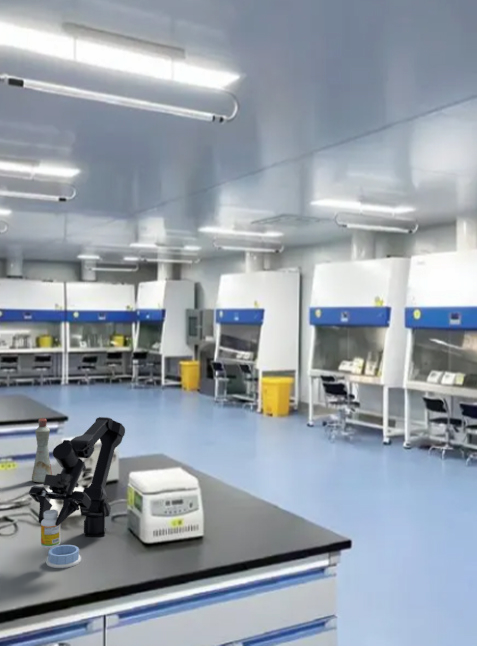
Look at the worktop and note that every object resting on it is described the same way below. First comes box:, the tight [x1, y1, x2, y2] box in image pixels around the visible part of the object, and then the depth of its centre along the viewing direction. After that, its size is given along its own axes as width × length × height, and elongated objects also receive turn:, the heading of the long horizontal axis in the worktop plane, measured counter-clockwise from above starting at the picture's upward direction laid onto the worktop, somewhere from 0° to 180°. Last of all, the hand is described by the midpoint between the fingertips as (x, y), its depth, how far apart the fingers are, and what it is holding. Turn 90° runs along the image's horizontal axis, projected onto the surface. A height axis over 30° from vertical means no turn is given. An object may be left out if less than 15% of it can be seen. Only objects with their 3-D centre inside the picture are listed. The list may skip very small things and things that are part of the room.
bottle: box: [31, 417, 53, 484], centre depth 270 cm, size 9×9×28 cm
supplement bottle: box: [40, 509, 61, 549], centre depth 179 cm, size 5×5×10 cm
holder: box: [45, 544, 82, 569], centre depth 183 cm, size 10×10×3 cm
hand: (47, 524), depth 178 cm, fingers closed on supplement bottle, 5 cm apart
